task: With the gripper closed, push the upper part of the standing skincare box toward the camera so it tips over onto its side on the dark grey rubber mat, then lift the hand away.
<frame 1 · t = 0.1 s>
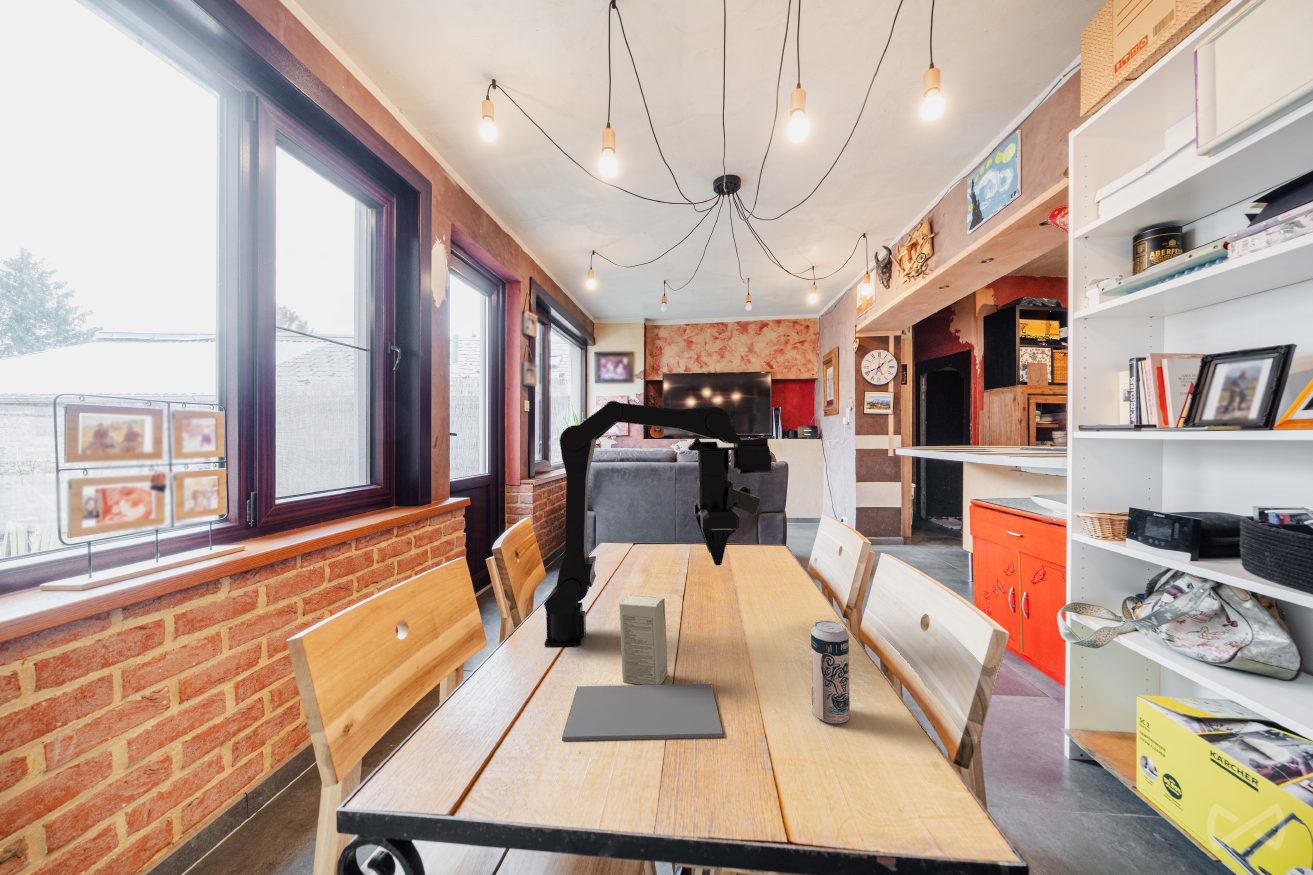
hand: (714, 558, 90), 15 cm above the table, tool pointing down, fingers open, 9 cm apart
skincare box: (644, 679, 75), on the table
beer can: (830, 717, 64), on the table
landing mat: (643, 711, 66), on the table
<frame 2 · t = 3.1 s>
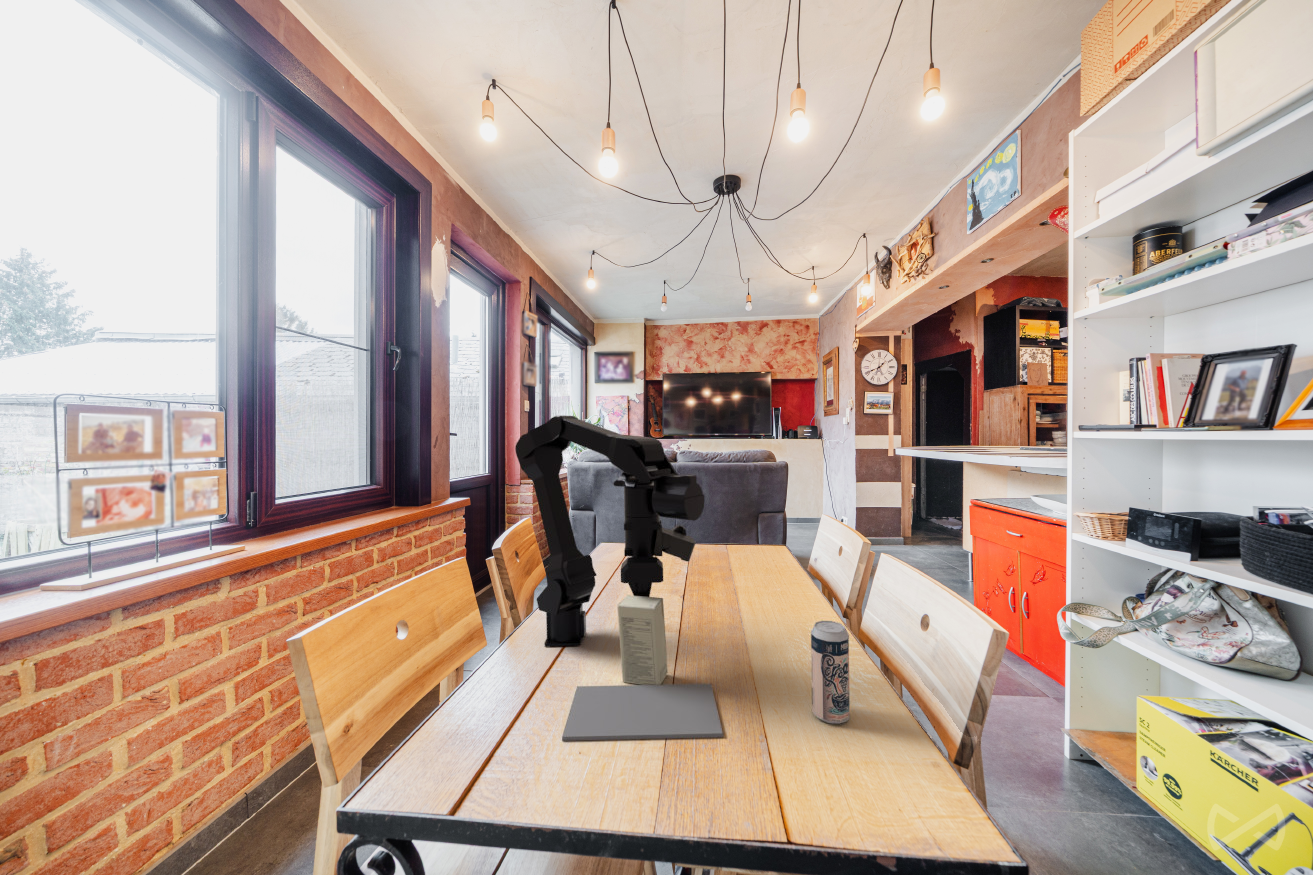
hand: (643, 610, 79), 9 cm above the table, tool pointing down, fingers closed
skincare box: (644, 678, 75), on the table, touching gripper
everything else where it was.
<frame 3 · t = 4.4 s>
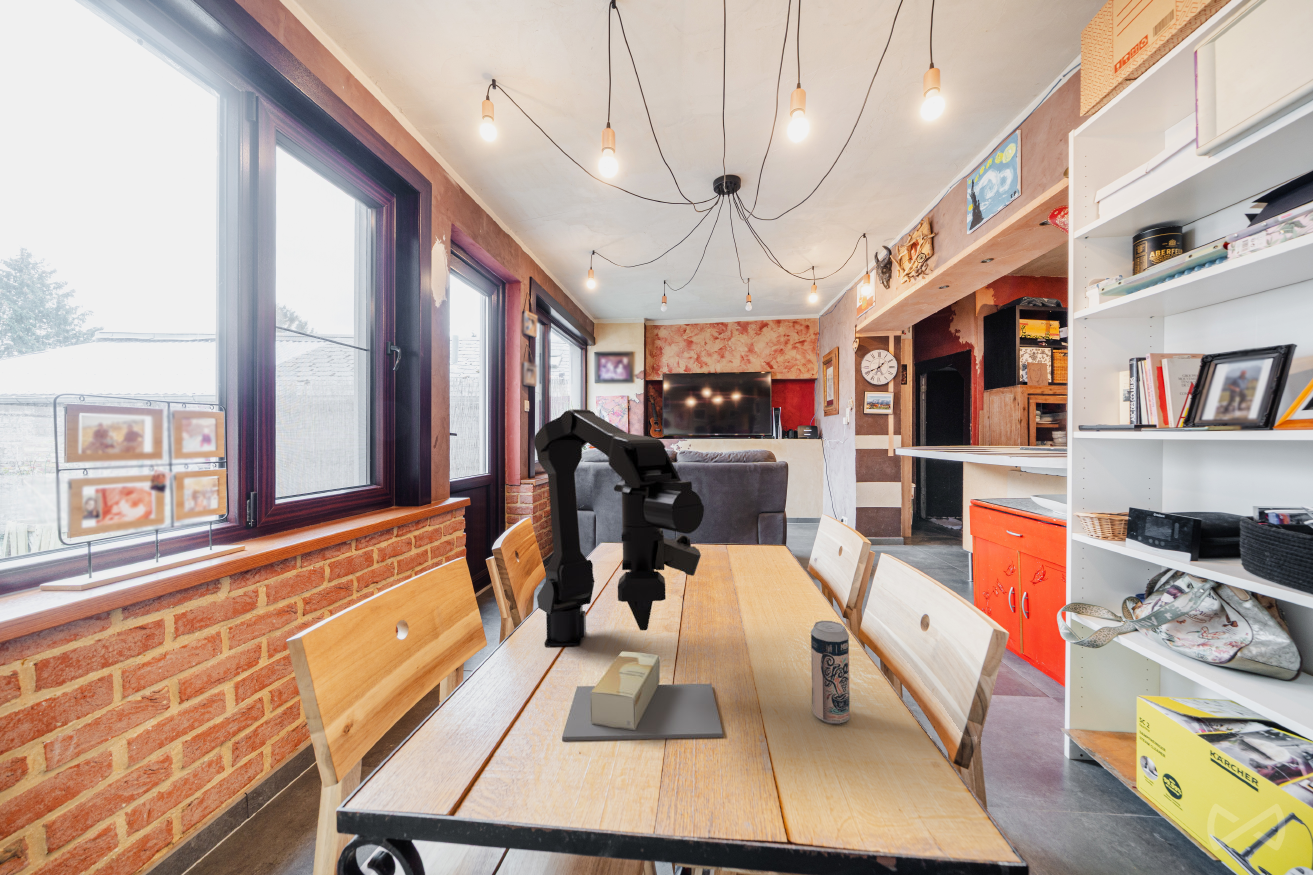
hand: (643, 629, 71), 9 cm above the table, tool pointing down, fingers closed
skincare box: (639, 665, 74), point 3 cm above the table, touching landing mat
everything else where it was.
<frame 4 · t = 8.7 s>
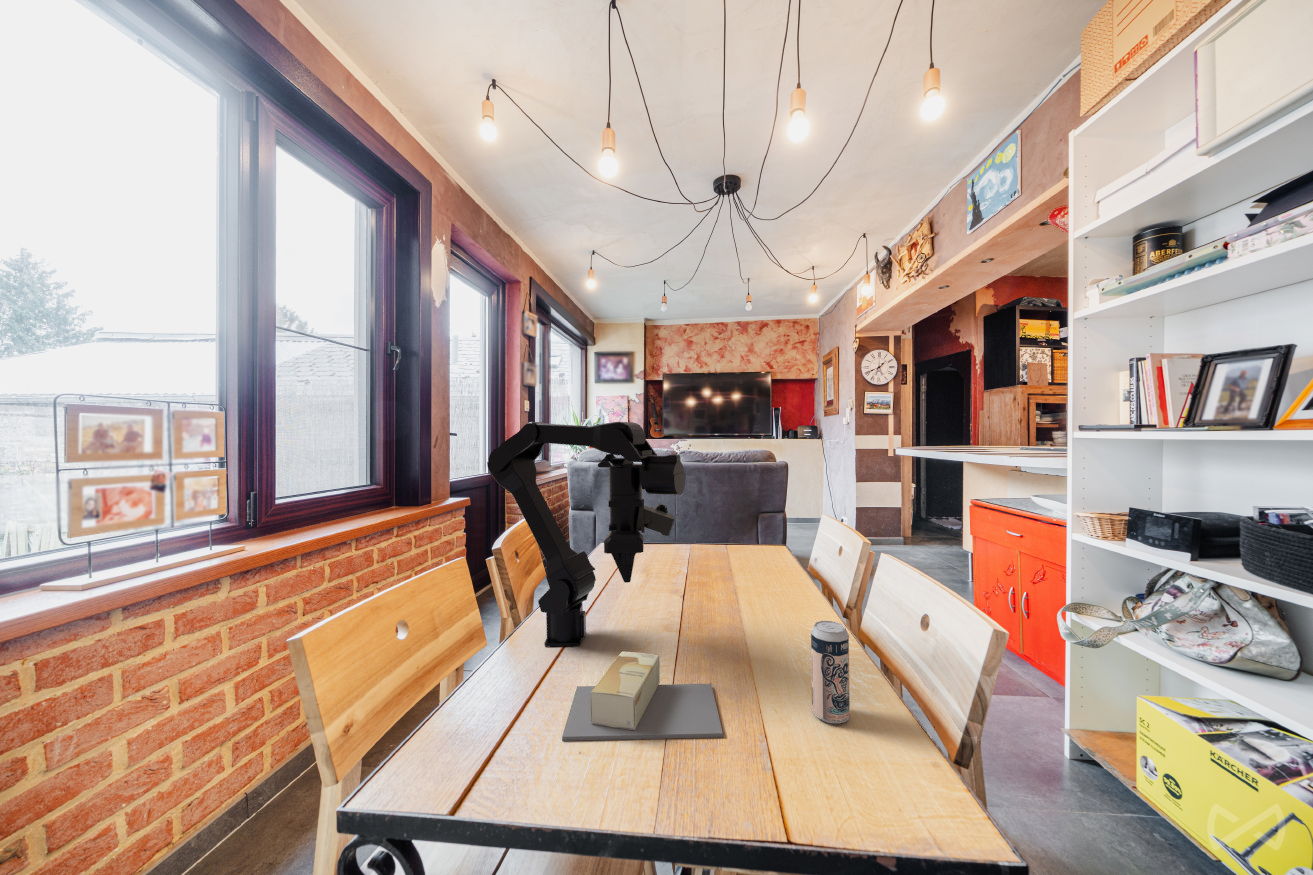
hand: (627, 581, 85), 12 cm above the table, tool pointing down, fingers closed
nothing on the table moved.
at the end: skincare box tilted 90°; skincare box inside the target area (1.2 cm from its centre), point 2.7 cm above the table; skincare box touching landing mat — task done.
